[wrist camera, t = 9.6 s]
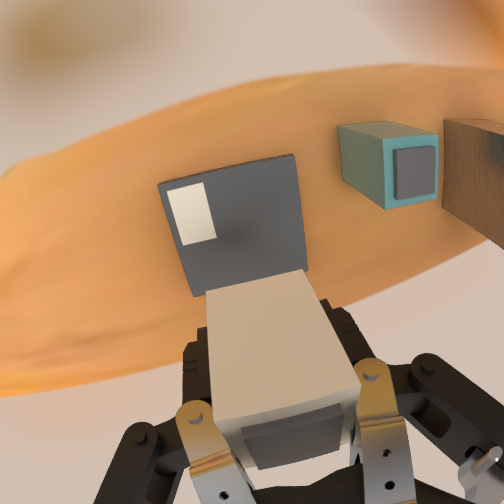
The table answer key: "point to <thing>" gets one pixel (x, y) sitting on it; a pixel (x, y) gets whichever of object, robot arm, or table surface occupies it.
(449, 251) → the table surface
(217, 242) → the pad
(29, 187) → the table surface
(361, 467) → the robot arm
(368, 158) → the block
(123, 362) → the table surface
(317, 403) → the block
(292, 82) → the table surface
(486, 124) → the unit
